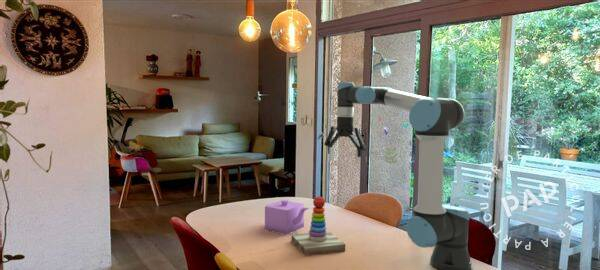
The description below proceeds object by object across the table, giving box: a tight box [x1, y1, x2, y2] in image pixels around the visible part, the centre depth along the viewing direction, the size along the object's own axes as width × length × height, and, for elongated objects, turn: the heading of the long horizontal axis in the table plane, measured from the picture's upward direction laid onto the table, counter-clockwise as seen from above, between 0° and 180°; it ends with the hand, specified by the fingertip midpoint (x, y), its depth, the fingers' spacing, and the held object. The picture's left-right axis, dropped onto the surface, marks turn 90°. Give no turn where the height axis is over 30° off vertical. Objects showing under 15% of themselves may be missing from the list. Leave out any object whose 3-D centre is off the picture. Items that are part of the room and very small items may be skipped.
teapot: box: [264, 199, 310, 235], centre depth 209 cm, size 15×25×14 cm, turn 58°
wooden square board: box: [291, 230, 346, 256], centre depth 186 cm, size 18×18×3 cm
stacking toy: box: [308, 196, 327, 241], centre depth 185 cm, size 8×8×19 cm
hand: (344, 162), depth 197 cm, fingers open, 13 cm apart
